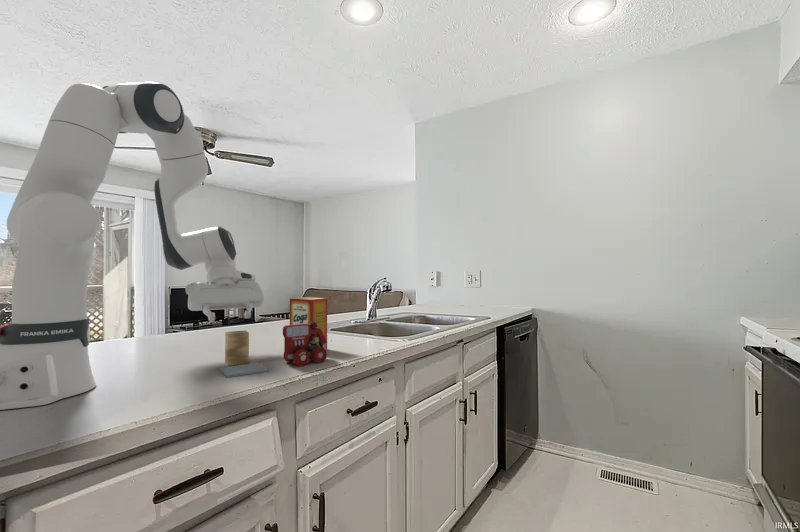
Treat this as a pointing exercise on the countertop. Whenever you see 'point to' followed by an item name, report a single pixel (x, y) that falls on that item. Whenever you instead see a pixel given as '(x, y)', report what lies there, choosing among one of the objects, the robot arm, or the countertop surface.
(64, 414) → the countertop surface
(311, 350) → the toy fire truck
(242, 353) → the block
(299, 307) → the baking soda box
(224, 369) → the mat
